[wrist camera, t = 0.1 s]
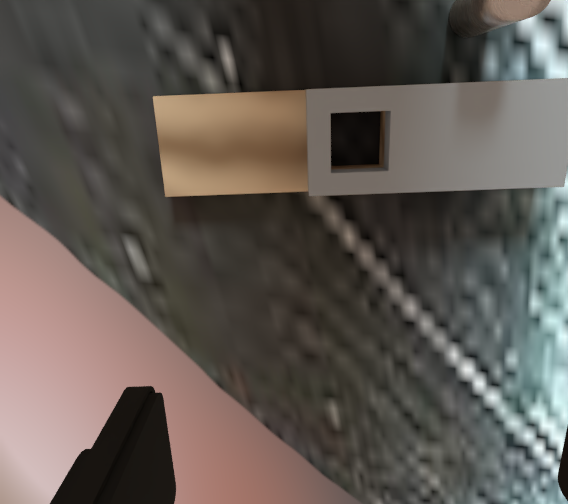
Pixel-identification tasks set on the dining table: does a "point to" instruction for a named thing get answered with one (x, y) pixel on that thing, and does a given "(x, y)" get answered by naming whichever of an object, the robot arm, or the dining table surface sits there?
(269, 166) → the link
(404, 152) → the link
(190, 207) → the dining table surface
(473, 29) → the pin
